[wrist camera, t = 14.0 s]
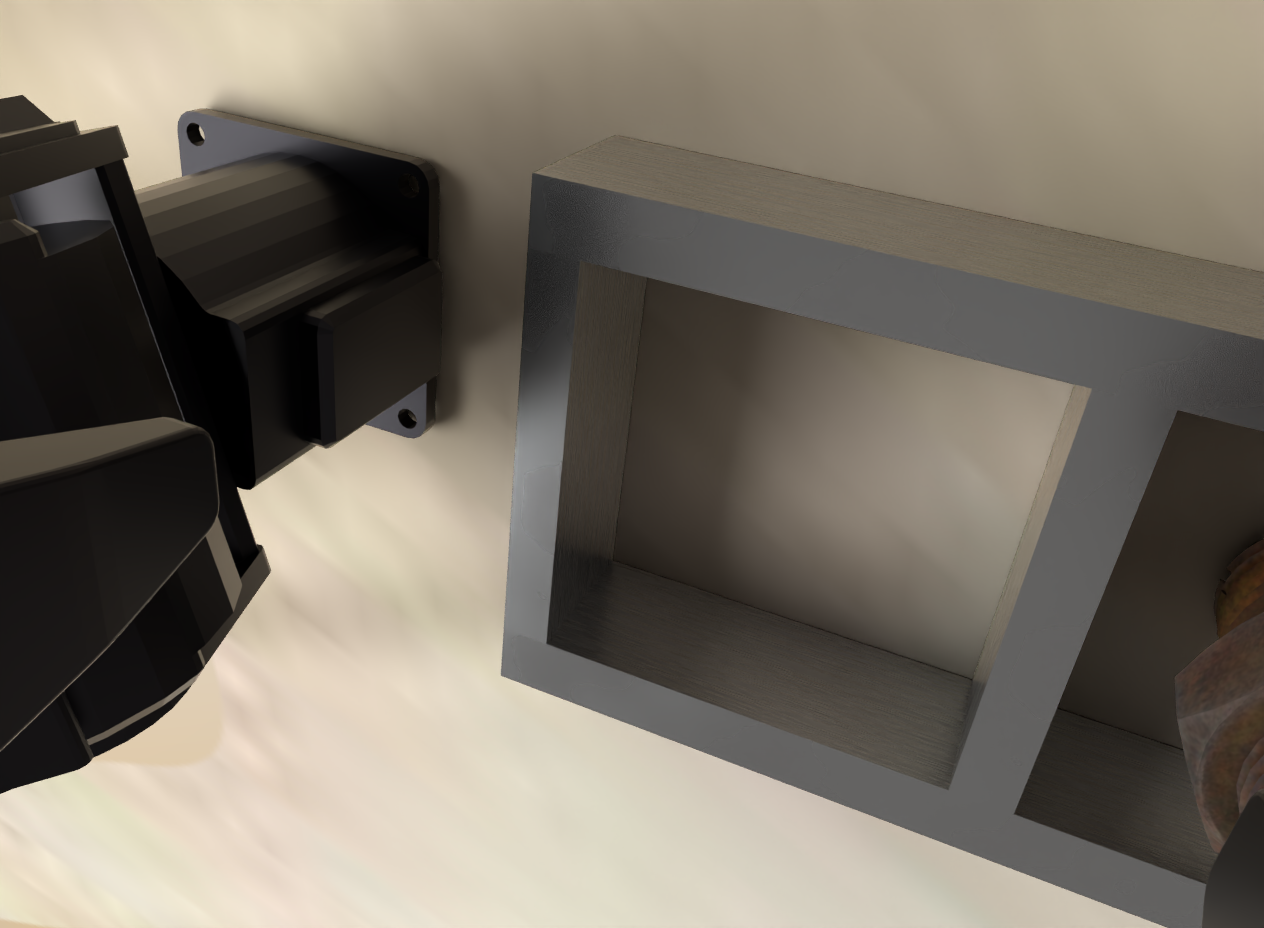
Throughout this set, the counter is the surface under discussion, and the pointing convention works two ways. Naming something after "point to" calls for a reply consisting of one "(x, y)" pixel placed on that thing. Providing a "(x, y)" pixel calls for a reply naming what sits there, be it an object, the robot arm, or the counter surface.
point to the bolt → (1227, 701)
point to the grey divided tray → (821, 661)
